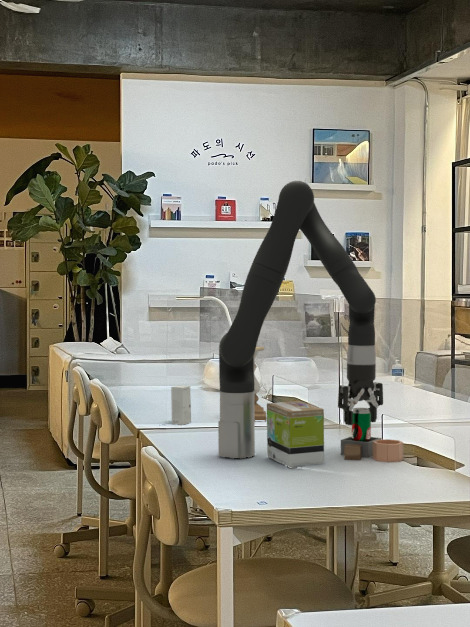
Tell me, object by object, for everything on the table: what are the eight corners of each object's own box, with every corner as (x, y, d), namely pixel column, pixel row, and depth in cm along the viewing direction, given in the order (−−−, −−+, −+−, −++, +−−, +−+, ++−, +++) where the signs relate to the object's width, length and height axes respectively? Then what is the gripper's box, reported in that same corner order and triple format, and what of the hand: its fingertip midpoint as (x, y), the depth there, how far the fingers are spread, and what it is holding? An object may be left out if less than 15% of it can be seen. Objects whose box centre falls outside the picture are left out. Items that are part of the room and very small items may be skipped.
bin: (368, 459, 248) (368, 442, 248) (340, 456, 252) (340, 439, 252) (381, 454, 255) (381, 438, 255) (354, 451, 259) (354, 435, 259)
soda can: (370, 455, 251) (370, 410, 250) (350, 455, 252) (351, 409, 251) (371, 452, 256) (371, 407, 255) (352, 451, 257) (352, 407, 256)
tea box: (265, 458, 251) (265, 402, 251) (300, 455, 255) (300, 400, 254) (289, 469, 237) (288, 409, 237) (325, 466, 241) (325, 407, 240)
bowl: (395, 465, 241) (395, 445, 241) (369, 462, 245) (369, 442, 245) (406, 460, 247) (406, 441, 247) (380, 457, 251) (380, 438, 251)
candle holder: (266, 421, 312) (265, 348, 311) (232, 421, 312) (232, 348, 311) (265, 416, 323) (265, 345, 322) (233, 416, 323) (232, 346, 322)
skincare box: (183, 425, 306) (183, 387, 305) (170, 424, 307) (170, 386, 307) (191, 422, 311) (191, 385, 311) (179, 421, 313) (179, 384, 313)
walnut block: (359, 462, 245) (360, 447, 245) (344, 462, 246) (344, 446, 245) (361, 459, 249) (361, 444, 249) (345, 459, 250) (345, 444, 249)
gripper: (351, 364, 245) (350, 427, 246) (390, 361, 254) (389, 422, 254) (331, 362, 251) (330, 423, 252) (370, 359, 260) (369, 419, 260)
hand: (360, 423), depth 253 cm, fingers open, 8 cm apart
